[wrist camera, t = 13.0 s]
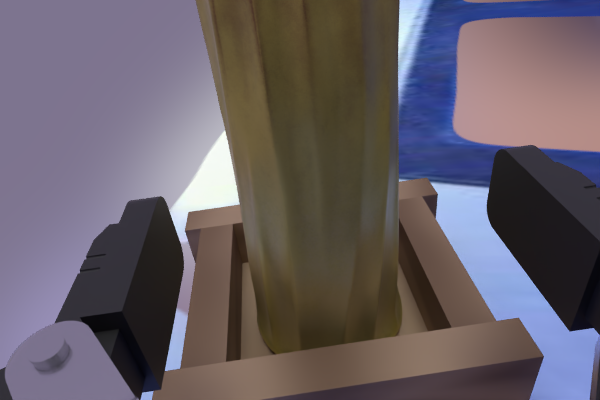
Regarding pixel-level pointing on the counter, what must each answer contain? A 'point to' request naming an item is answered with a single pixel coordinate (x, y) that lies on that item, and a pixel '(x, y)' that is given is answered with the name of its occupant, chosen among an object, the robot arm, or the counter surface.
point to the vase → (313, 161)
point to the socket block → (360, 355)
